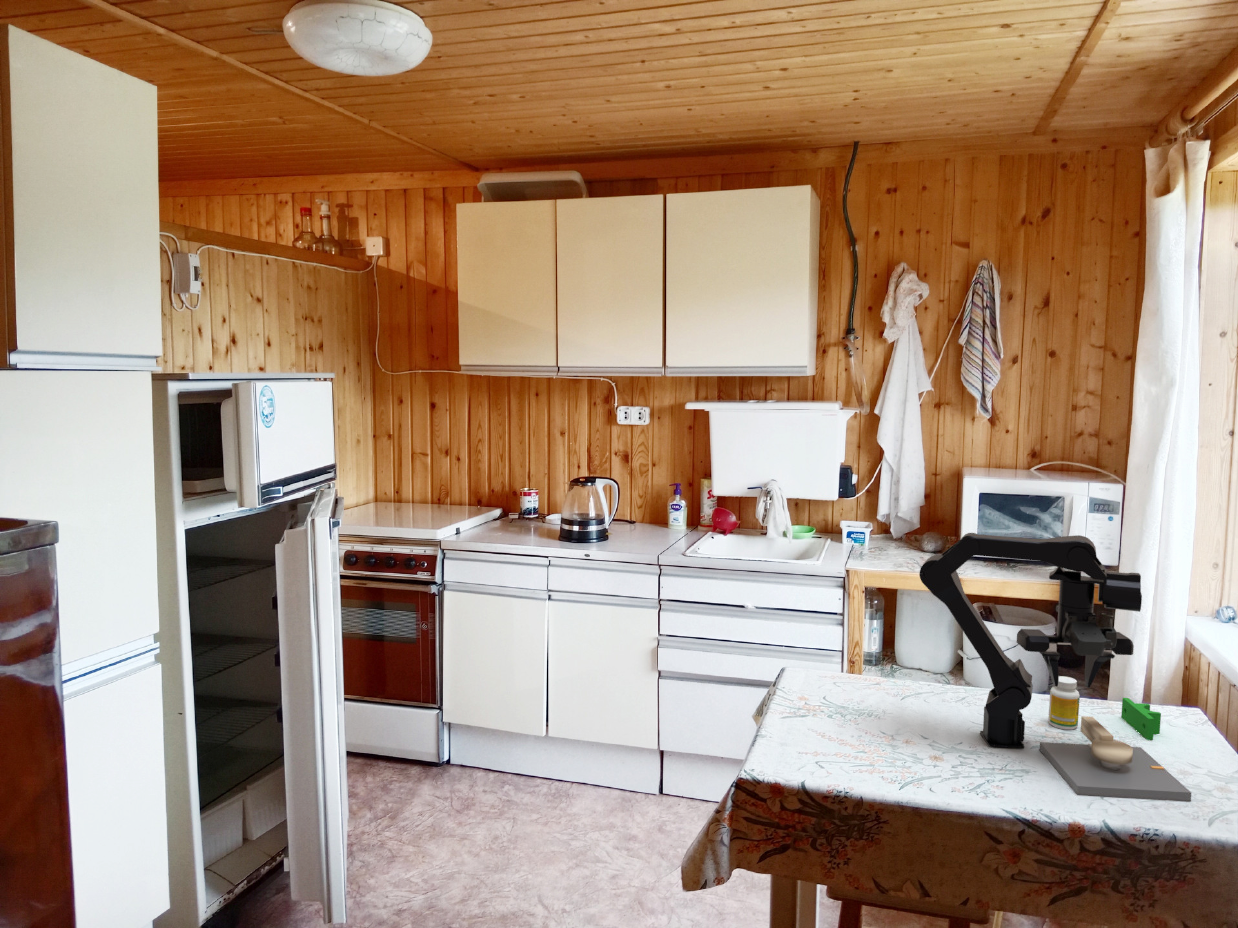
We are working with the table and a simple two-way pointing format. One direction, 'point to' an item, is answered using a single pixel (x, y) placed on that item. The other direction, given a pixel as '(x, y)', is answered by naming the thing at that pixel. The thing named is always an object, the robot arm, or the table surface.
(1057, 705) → the supplement bottle
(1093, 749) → the beige long-handled part
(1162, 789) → the thin gray panel
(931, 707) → the table surface
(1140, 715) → the pipe clamp
